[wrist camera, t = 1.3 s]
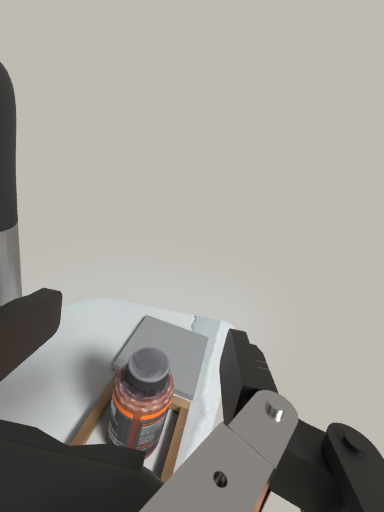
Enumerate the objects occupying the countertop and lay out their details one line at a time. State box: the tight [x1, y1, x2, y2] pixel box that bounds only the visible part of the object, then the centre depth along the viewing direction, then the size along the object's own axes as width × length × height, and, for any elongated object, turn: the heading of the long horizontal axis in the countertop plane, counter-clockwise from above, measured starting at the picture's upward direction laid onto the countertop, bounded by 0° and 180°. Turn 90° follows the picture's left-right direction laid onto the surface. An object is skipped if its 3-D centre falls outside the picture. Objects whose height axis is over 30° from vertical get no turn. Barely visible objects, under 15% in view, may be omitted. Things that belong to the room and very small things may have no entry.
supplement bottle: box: [107, 347, 174, 459], centre depth 24 cm, size 6×6×11 cm
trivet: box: [112, 315, 208, 400], centre depth 38 cm, size 12×12×1 cm
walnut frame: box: [70, 373, 191, 483], centre depth 26 cm, size 10×10×1 cm
